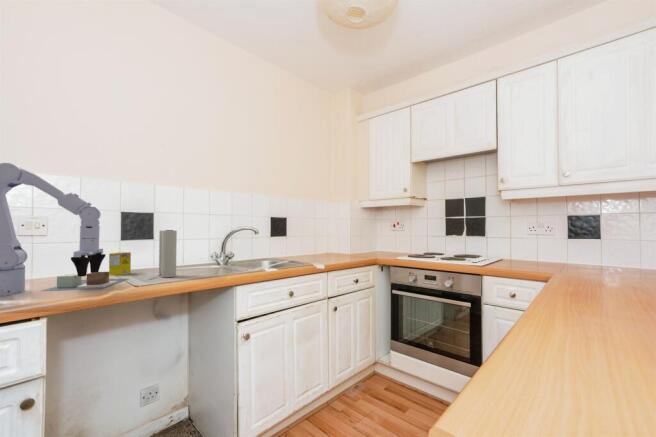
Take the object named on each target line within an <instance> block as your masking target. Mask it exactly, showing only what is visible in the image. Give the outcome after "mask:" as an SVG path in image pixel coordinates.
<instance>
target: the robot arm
mask: <svg viewBox="0 0 656 437" xmlns="http://www.w3.org/2000/svg"><path fill="white" fill-rule="evenodd" d="M21 185H25V186H31V187H35V188H36V189H38V190H39V191H42V192H44V193H45V194H47V195H49V196H51V197H52V198H54V199H56V200H57V205H58V206H60V207H62V208H63V209H66V211H68V212H70V213H71V214H73V215H75V216H78V217H79V219H80V220H81V221H80V227H79V233H80V234H79V250H76V251H73V256H71V257H70V261H71V262H72V263H73V265H74V267H75V270H76V274H78V276H79V277H81V278H82V277H87V274H88V267H90V268H89V269H90V273H93V272H100V268H101V265H102V263H103V260H104V259H105V257H106V254H105V253H104V248H100V227H101V226H100V218H101V211H100V210H99V209H98V208H97V207H95V206H92V203H91V202H87V201H85V200H83V199H82V198H80V195H79V194H77V193H73V192H63V190H61V189H59V188H57V187H55V186H54V185H52V184H51V183H49V182H48V181H46V180H45V179H43V178H42V177H40V176H39V175H37V174H35V173H32V172H30V171H28V170H26V169H24V168H22V167H19V166H17V165H15V164H13V163H10V162H1V163H0V297H6V296H10V295H13V294H18V293H22V292H25V290H26V265H25V264H24V263H25V262H26V261H27V259H28V253H27V252H26V250H25V249H24V248H22V244H21V243H20V241H19V239H17V235H16V230H15V226H14V222H13V220H12V215H11V211H10V208H9V203H8V198H7V195H6V194H8V193H9V192H10V191H11V190H12V189H13V188H16V187H18V186H21Z"/></svg>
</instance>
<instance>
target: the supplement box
mask: <svg viewBox="0 0 656 437" xmlns="http://www.w3.org/2000/svg"><path fill="white" fill-rule="evenodd" d="M131 253H132V252H129V251H128V252H125V251H124V252H123V251H119V252H112V253H111V252H110V253H109V255H108V257H109V259H108V260H109V261H108V263H109V264H108V272H109V276H124V275H130V274H131V272H132V271H131V269H132V268H131V265H132V261H131V260H132V258H131V256H132V254H131Z"/></svg>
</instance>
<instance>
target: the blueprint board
mask: <svg viewBox="0 0 656 437" xmlns="http://www.w3.org/2000/svg"><path fill="white" fill-rule="evenodd" d="M128 280H129V278H109V282H108V283H105V284H102V285H86V283H87V279H81V285H78V286H75V287H61V288H57V285H56V286H53V287H49V288H47V289H44V290H41V292H57V291H58V292H60V291H89V290H90V291H91V290H105V289H107V288H109V287H112V286H115V285H117V284H119V283H122V282H125V281H128Z"/></svg>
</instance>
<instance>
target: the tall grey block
mask: <svg viewBox="0 0 656 437" xmlns="http://www.w3.org/2000/svg"><path fill="white" fill-rule="evenodd" d="M177 233H178V231H177V230H173V229H165V230H159V234H158V235H159V239H158V240H159V241H158V242H159V244H158V246H159V247H158V248H159V250H158V254H159V255H158V263H159V264H158V276H159V277H161V278H173V277H176V276H177V241H178V240H177V238H178V237H177V236H178V234H177Z"/></svg>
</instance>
